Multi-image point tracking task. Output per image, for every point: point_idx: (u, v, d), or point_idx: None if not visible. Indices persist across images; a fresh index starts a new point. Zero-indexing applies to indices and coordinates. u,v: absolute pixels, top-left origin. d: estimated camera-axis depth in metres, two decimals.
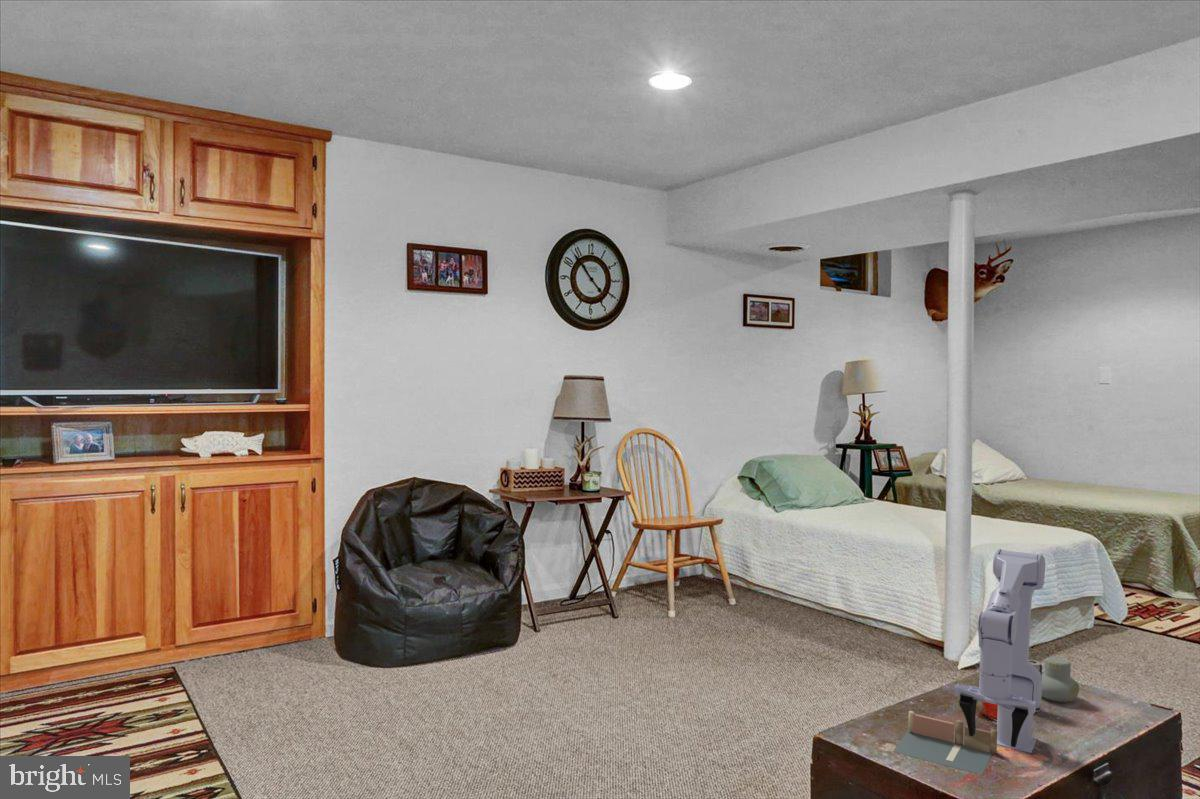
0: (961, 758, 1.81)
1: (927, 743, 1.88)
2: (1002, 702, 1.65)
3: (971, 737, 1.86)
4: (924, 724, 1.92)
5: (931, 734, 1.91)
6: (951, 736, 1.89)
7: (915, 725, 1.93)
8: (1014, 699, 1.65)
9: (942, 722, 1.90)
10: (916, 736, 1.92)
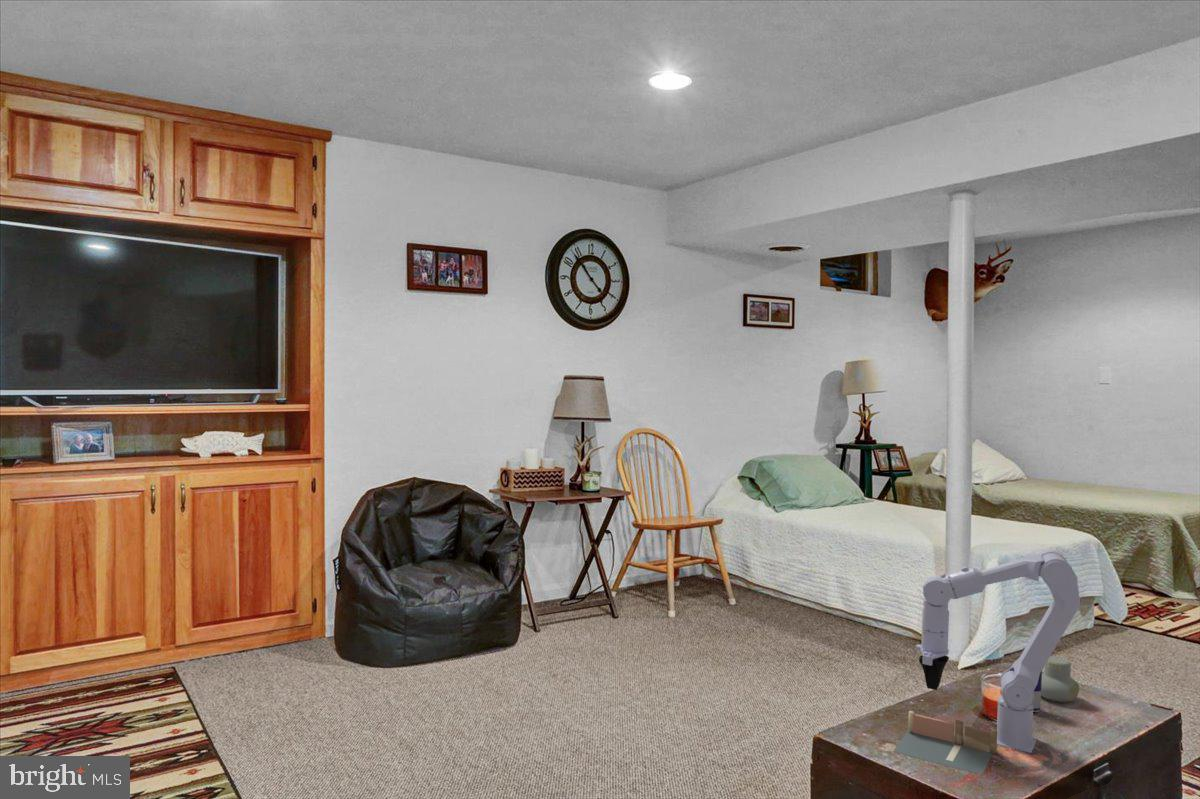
0: (961, 758, 1.81)
1: (927, 743, 1.88)
2: None
3: (971, 737, 1.86)
4: (924, 724, 1.92)
5: (931, 734, 1.91)
6: (951, 736, 1.89)
7: (915, 725, 1.93)
8: (930, 652, 1.93)
9: (942, 722, 1.90)
10: (916, 736, 1.92)
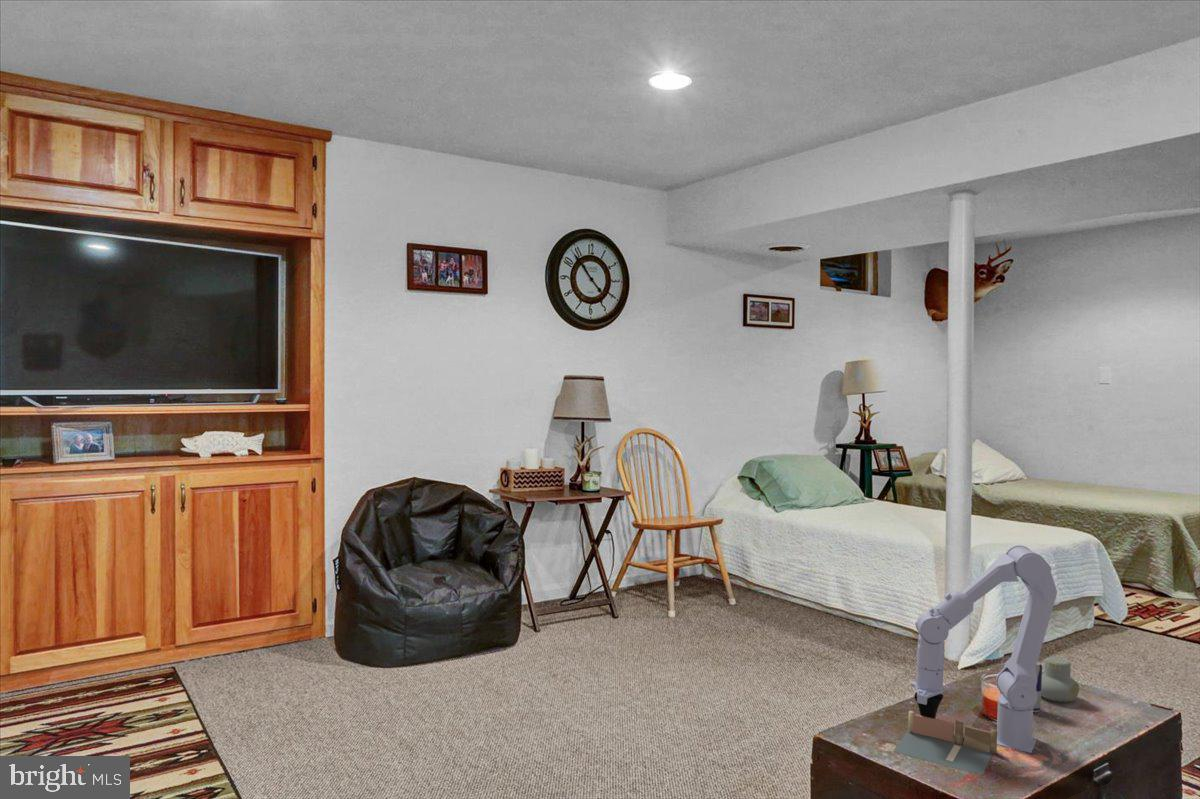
0: (961, 758, 1.81)
1: (927, 743, 1.88)
2: (915, 687, 1.93)
3: (971, 737, 1.86)
4: (924, 724, 1.92)
5: (931, 734, 1.91)
6: (951, 736, 1.89)
7: (915, 725, 1.93)
8: (924, 691, 1.90)
9: (942, 722, 1.90)
10: (916, 736, 1.92)
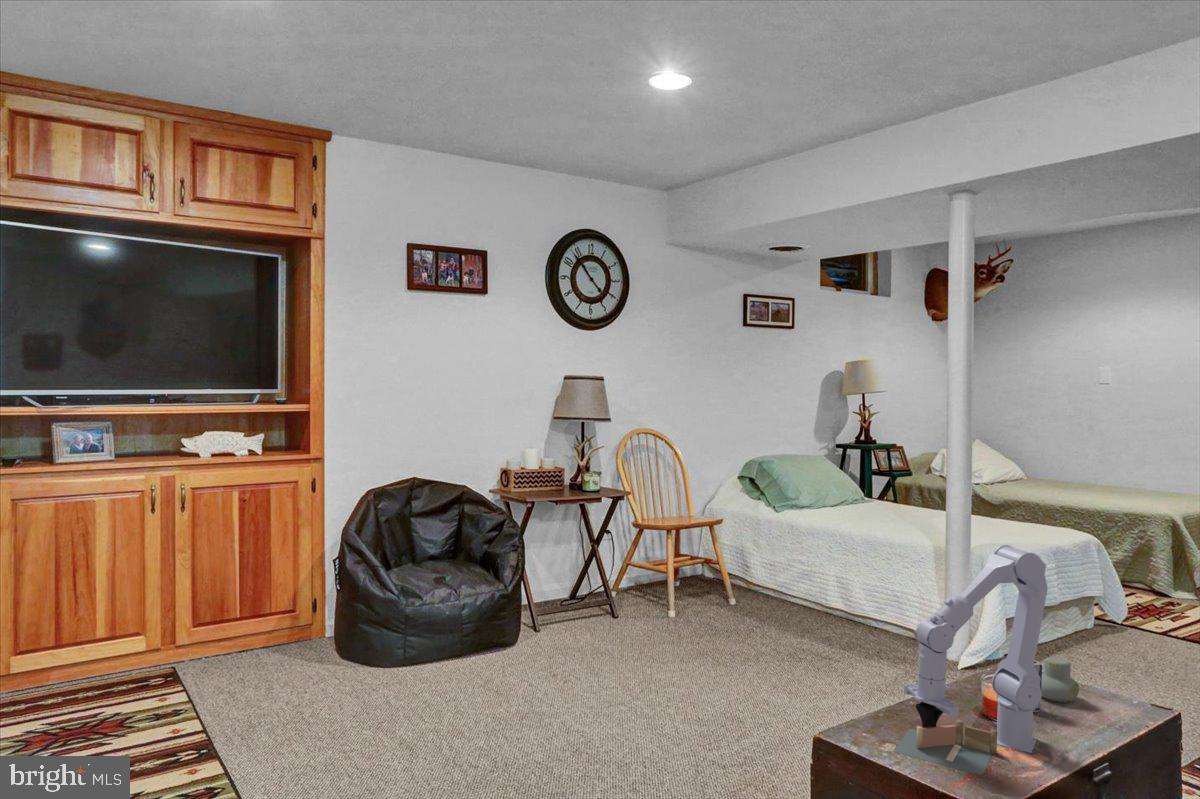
0: (961, 758, 1.81)
1: None
2: (928, 702, 1.84)
3: (971, 737, 1.86)
4: (932, 735, 1.86)
5: (938, 743, 1.86)
6: (954, 738, 1.87)
7: (924, 739, 1.85)
8: (942, 702, 1.84)
9: (947, 727, 1.87)
10: (916, 736, 1.92)
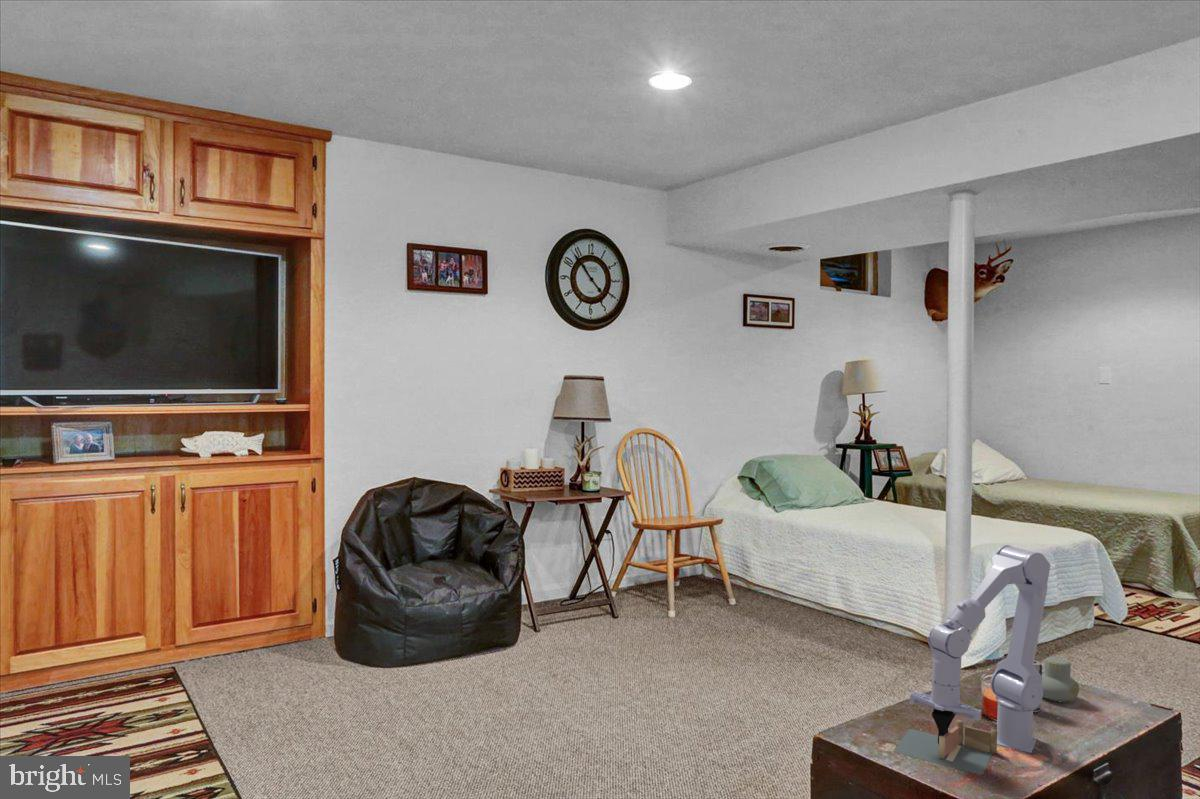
0: (961, 758, 1.81)
1: (927, 743, 1.88)
2: (950, 709, 1.80)
3: (971, 737, 1.86)
4: (948, 742, 1.83)
5: (951, 748, 1.84)
6: (958, 740, 1.87)
7: (945, 748, 1.81)
8: (962, 707, 1.81)
9: (955, 730, 1.85)
10: (916, 736, 1.92)
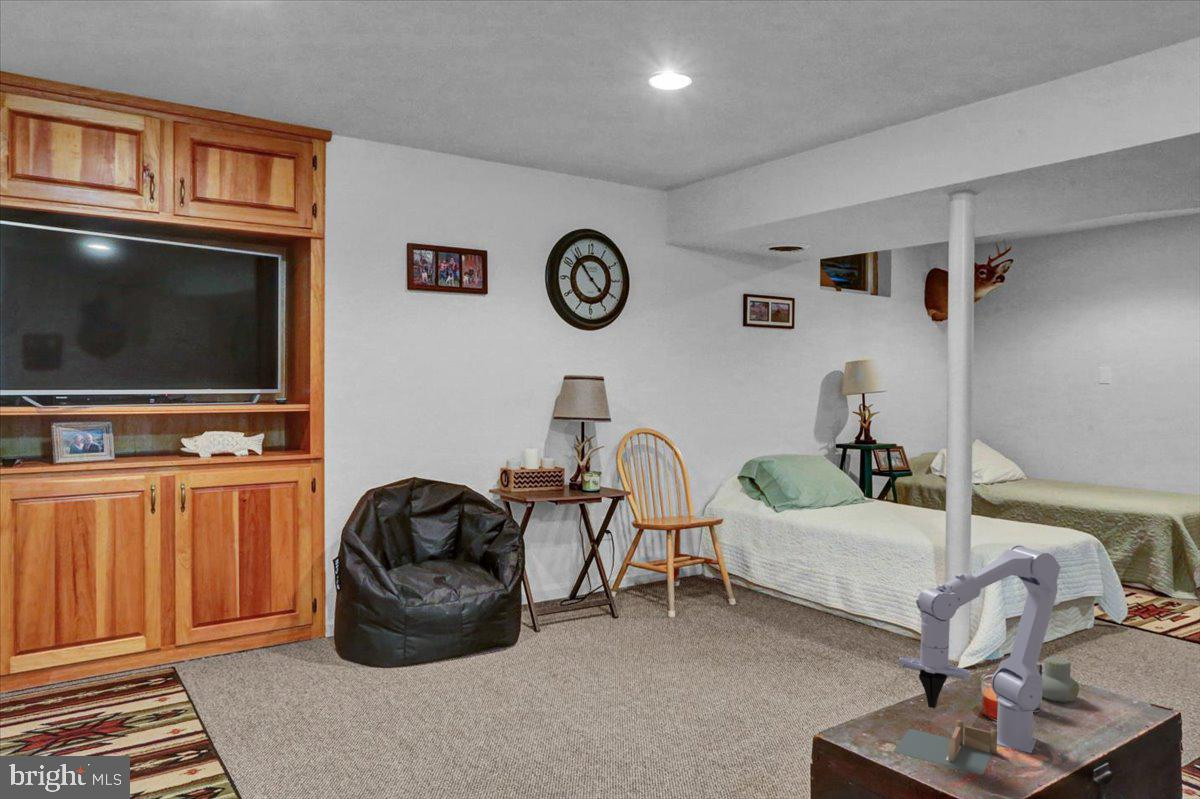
0: (961, 758, 1.81)
1: (927, 743, 1.88)
2: (940, 671, 1.82)
3: (971, 737, 1.86)
4: (955, 744, 1.82)
5: (956, 750, 1.83)
6: (959, 740, 1.87)
7: None
8: (951, 669, 1.83)
9: (958, 731, 1.85)
10: (916, 736, 1.92)
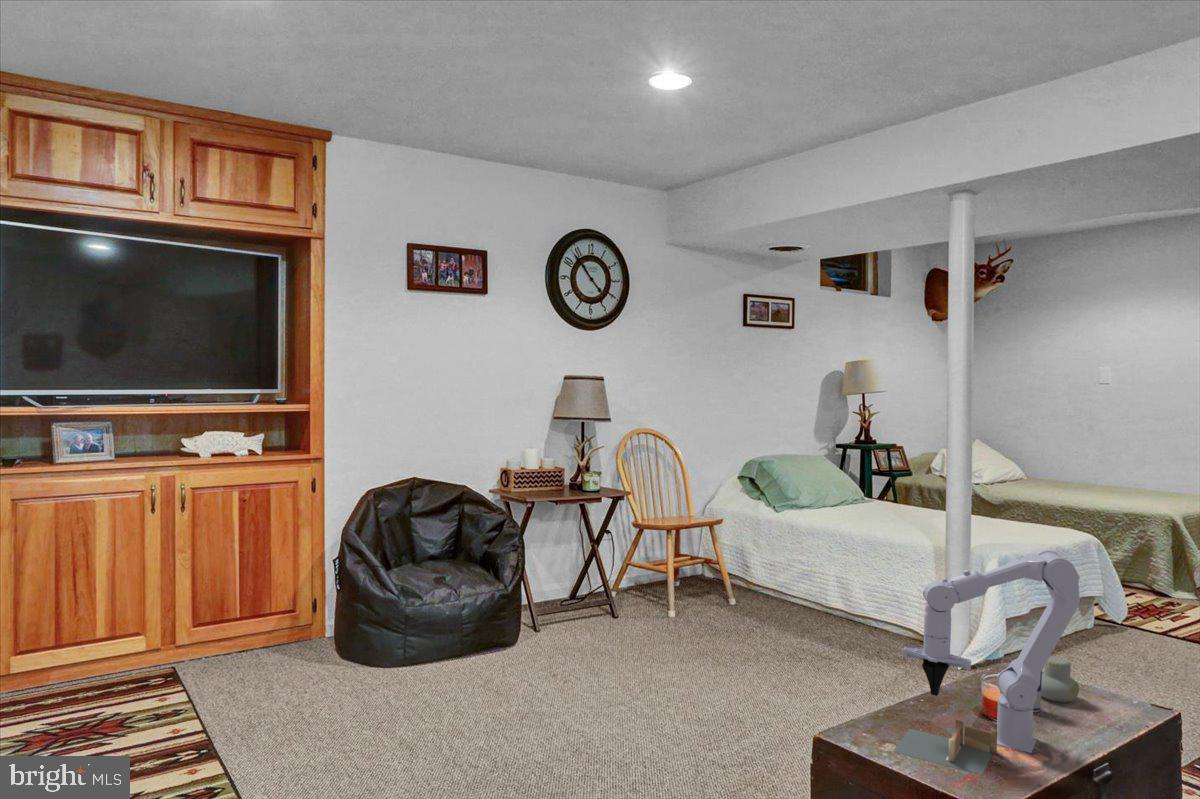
0: (961, 758, 1.81)
1: (927, 743, 1.88)
2: (942, 660, 1.90)
3: (971, 737, 1.86)
4: (955, 744, 1.82)
5: (956, 750, 1.83)
6: (959, 740, 1.87)
7: None
8: (953, 658, 1.92)
9: (958, 731, 1.85)
10: (916, 736, 1.92)
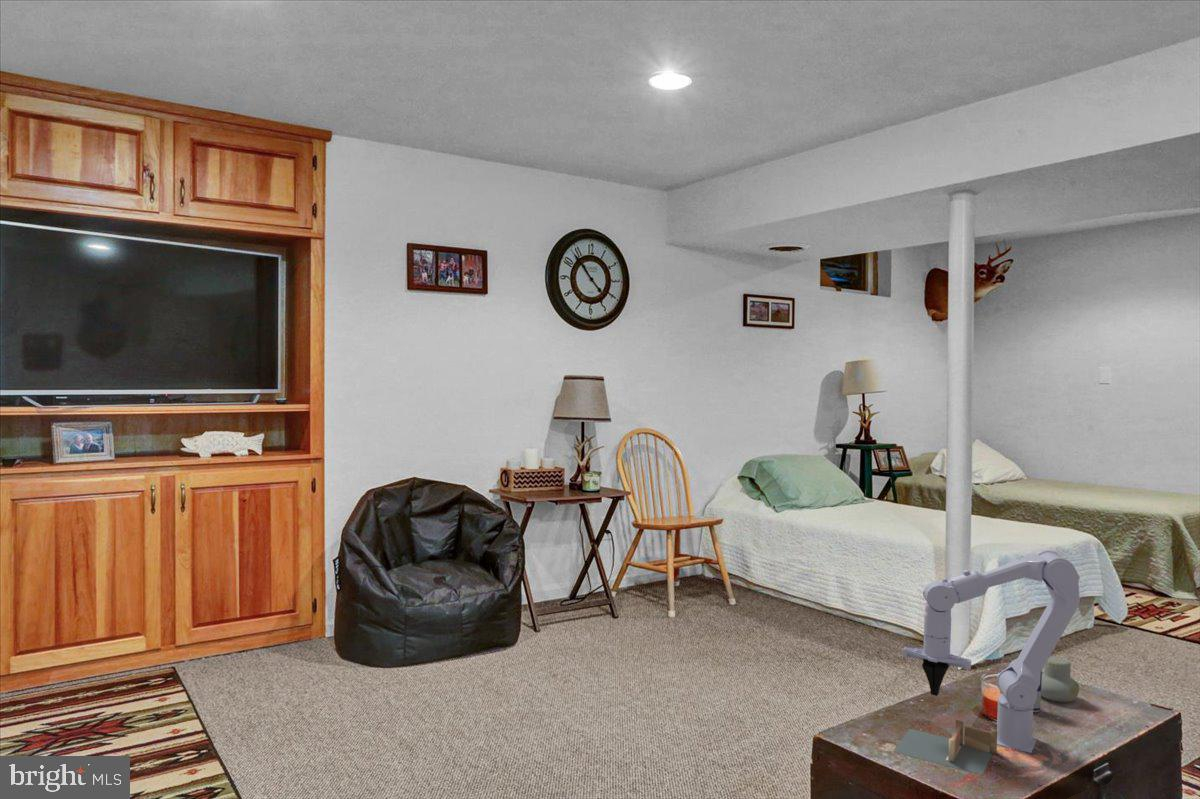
0: (961, 758, 1.81)
1: (927, 743, 1.88)
2: (942, 660, 1.90)
3: (971, 737, 1.86)
4: (955, 744, 1.82)
5: (956, 750, 1.83)
6: (959, 740, 1.87)
7: None
8: (953, 658, 1.92)
9: (958, 731, 1.85)
10: (916, 736, 1.92)
